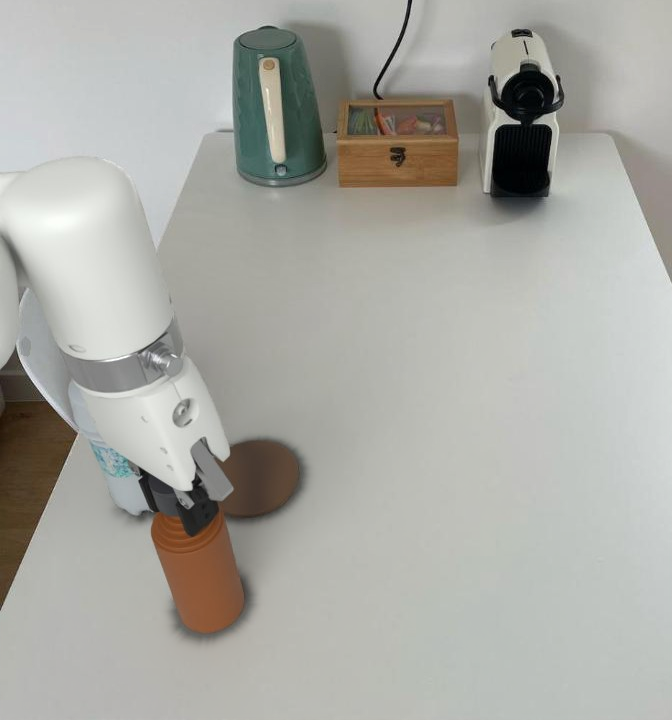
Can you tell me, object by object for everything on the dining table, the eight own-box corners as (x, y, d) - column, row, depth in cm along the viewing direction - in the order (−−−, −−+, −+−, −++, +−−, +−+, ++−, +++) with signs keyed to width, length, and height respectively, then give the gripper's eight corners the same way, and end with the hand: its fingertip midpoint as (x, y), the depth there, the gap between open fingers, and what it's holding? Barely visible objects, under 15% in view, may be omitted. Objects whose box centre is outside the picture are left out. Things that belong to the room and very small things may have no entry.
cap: (166, 478, 66) (158, 455, 65) (210, 482, 66) (203, 459, 64) (149, 514, 64) (140, 492, 62) (195, 519, 63) (187, 496, 61)
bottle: (165, 526, 82) (109, 385, 68) (103, 519, 83) (35, 378, 69) (189, 474, 86) (141, 333, 73) (130, 468, 87) (71, 327, 74)
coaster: (221, 533, 81) (220, 529, 80) (192, 465, 87) (190, 462, 87) (313, 493, 84) (313, 489, 84) (278, 431, 91) (277, 427, 90)
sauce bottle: (190, 644, 72) (147, 523, 60) (170, 592, 76) (126, 469, 64) (254, 615, 74) (224, 492, 62) (231, 566, 78) (199, 442, 66)
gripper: (253, 357, 52) (292, 526, 64) (88, 274, 59) (151, 440, 72) (165, 429, 48) (225, 596, 60) (-1, 330, 55) (83, 497, 67)
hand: (184, 510), depth 66 cm, fingers closed on cap, 3 cm apart
